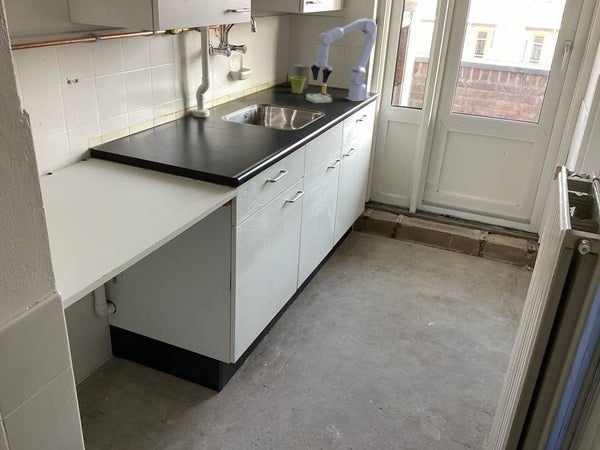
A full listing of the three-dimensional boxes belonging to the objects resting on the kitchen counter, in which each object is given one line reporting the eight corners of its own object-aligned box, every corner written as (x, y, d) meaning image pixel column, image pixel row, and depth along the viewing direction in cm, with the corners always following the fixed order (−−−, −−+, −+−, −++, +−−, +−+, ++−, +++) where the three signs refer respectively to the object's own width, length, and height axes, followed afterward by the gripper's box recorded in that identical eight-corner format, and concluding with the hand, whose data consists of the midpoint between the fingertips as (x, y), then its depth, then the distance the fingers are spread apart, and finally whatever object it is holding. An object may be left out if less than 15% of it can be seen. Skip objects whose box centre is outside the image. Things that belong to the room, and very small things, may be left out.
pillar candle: (310, 87, 331) (312, 63, 325) (303, 90, 324) (304, 64, 317) (297, 85, 336) (298, 61, 329) (289, 87, 328) (290, 62, 322)
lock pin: (324, 96, 311) (325, 84, 308) (327, 97, 308) (328, 85, 305) (319, 96, 310) (320, 84, 306) (322, 97, 307) (323, 85, 304)
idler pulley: (314, 95, 311) (314, 92, 310) (320, 98, 305) (320, 94, 305) (303, 96, 308) (304, 92, 307) (309, 98, 302) (310, 95, 301)
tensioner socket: (325, 95, 313) (325, 93, 312) (330, 97, 308) (330, 95, 307) (316, 96, 310) (316, 93, 309) (321, 98, 305) (321, 95, 305)
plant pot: (306, 94, 313) (307, 79, 309) (291, 94, 310) (291, 79, 307) (302, 91, 321) (303, 76, 317) (287, 91, 318) (288, 76, 315)
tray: (323, 98, 305) (323, 95, 304) (331, 102, 298) (331, 98, 297) (306, 99, 300) (306, 96, 299) (314, 103, 293) (314, 99, 292)
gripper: (308, 53, 293) (305, 78, 299) (326, 58, 284) (323, 84, 289) (317, 53, 298) (314, 78, 303) (336, 58, 288) (332, 83, 294)
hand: (319, 81), depth 297 cm, fingers open, 7 cm apart
